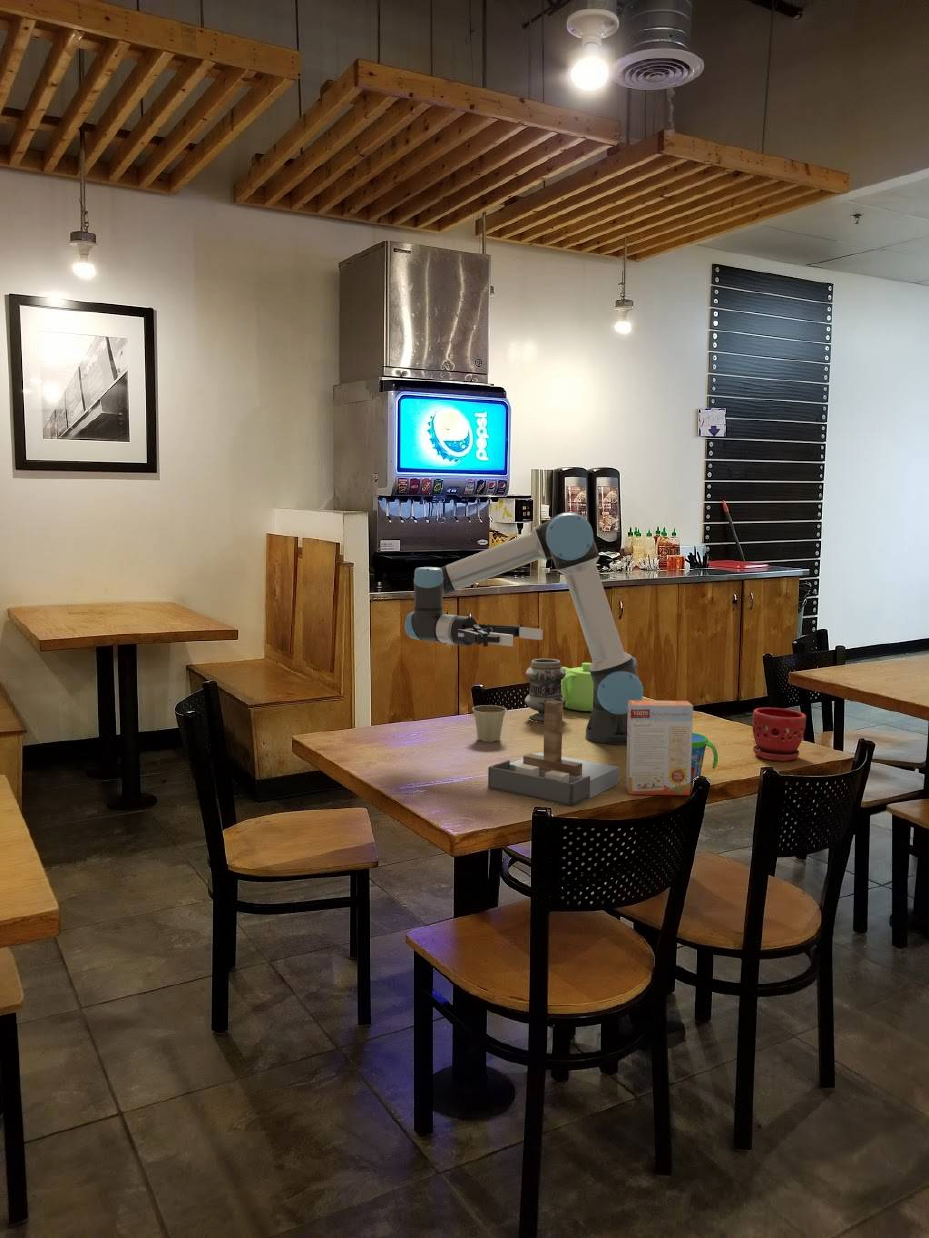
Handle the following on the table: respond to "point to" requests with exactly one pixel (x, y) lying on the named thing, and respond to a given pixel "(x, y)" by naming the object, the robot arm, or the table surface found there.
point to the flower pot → (489, 722)
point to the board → (587, 774)
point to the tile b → (557, 776)
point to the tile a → (527, 769)
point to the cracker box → (659, 747)
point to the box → (537, 785)
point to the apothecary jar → (544, 685)
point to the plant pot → (778, 733)
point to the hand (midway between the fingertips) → (527, 637)
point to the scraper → (553, 744)
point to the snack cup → (700, 754)
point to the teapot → (578, 688)
